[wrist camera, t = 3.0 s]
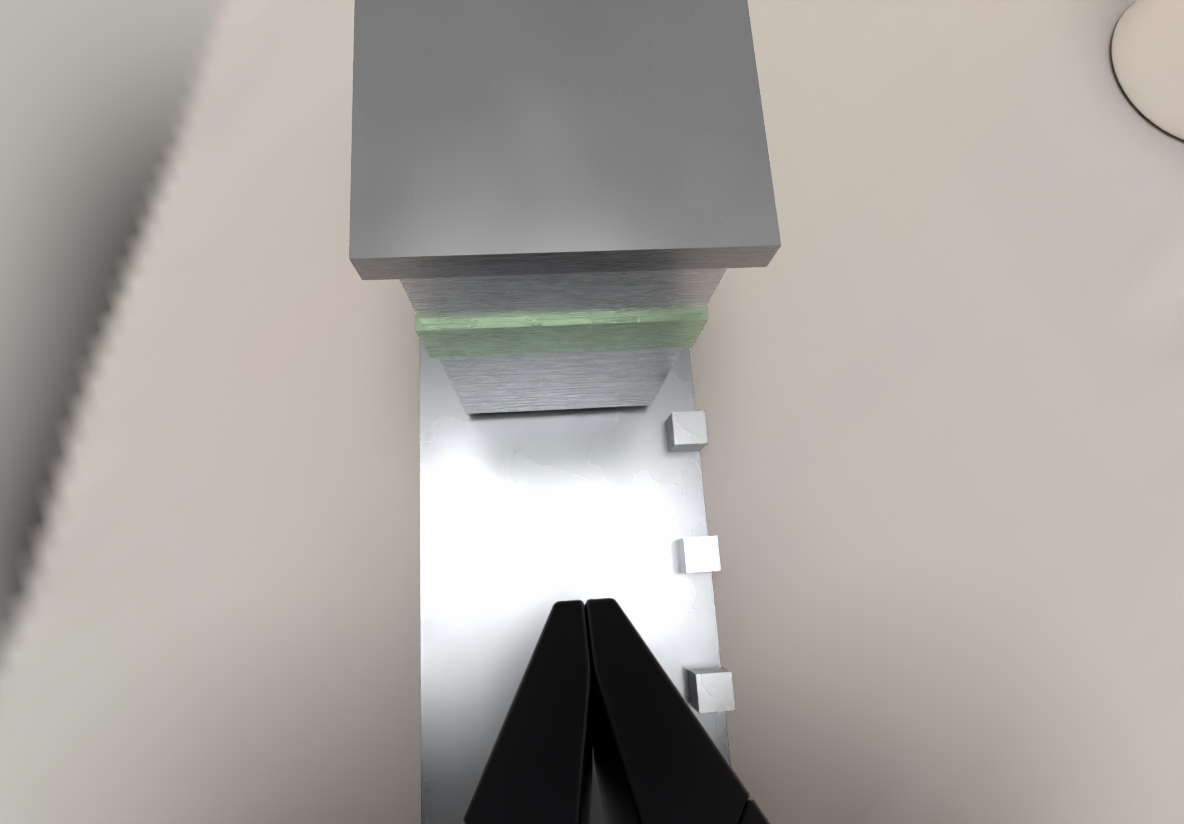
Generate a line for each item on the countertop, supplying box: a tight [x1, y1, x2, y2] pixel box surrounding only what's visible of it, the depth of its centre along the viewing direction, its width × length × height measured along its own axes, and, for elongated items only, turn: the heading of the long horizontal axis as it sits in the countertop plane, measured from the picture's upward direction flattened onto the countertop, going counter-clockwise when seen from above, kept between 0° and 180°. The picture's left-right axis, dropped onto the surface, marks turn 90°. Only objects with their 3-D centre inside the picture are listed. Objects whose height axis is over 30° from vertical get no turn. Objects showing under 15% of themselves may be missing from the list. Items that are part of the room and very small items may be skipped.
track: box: [419, 338, 735, 824], centre depth 17 cm, size 24×7×4 cm, turn 4°
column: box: [349, 0, 781, 414], centre depth 13 cm, size 5×5×9 cm
